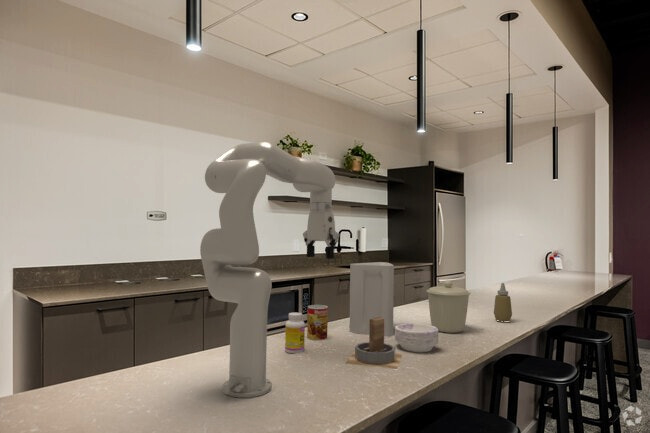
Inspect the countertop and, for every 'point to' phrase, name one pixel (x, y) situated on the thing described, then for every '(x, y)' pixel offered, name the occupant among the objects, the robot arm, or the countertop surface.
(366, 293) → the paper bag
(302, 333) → the supplement bottle
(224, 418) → the countertop surface
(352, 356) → the cork mat
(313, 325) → the canned food
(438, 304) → the canister
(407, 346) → the paper bowls
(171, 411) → the countertop surface
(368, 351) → the clip
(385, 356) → the round grey dish
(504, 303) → the squeeze bottle
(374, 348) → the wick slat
